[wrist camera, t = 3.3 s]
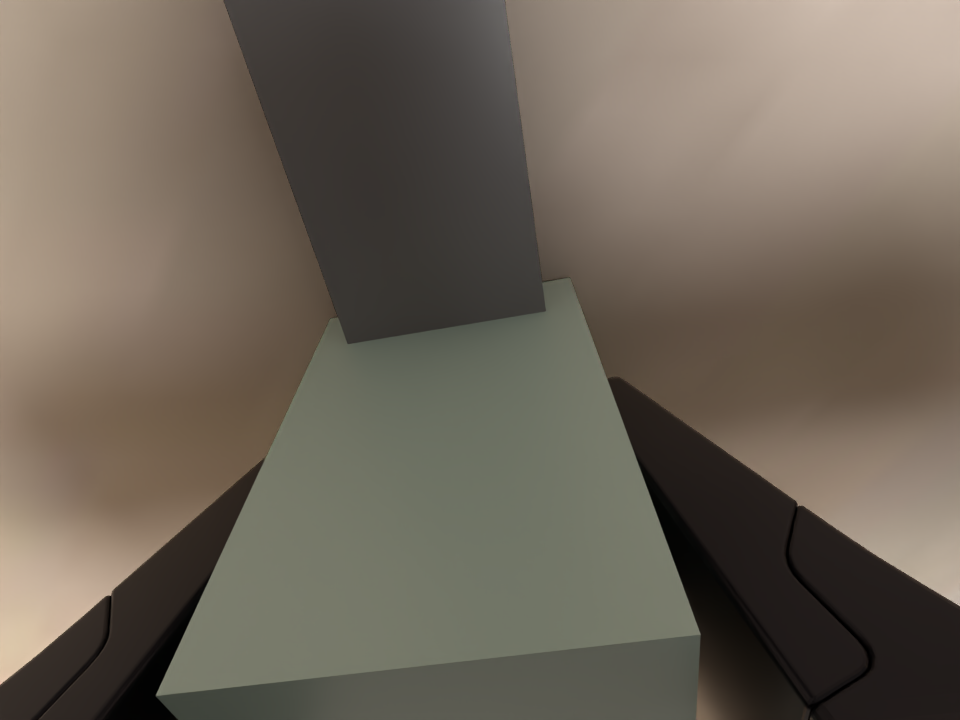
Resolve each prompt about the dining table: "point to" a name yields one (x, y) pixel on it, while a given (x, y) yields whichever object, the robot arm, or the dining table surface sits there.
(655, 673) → the grey piece
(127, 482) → the dining table surface
